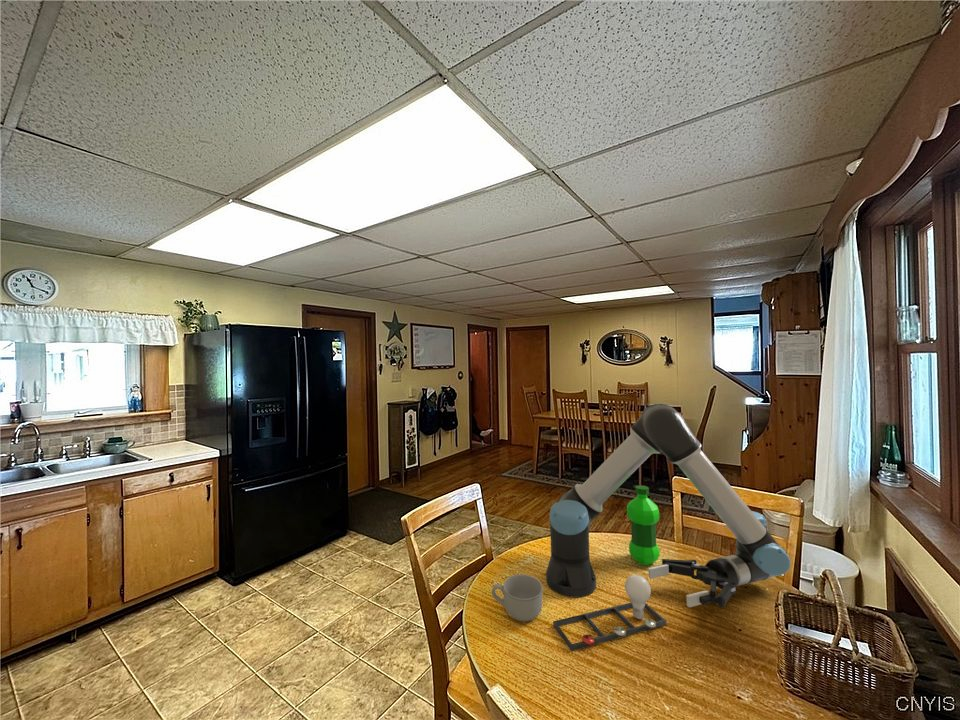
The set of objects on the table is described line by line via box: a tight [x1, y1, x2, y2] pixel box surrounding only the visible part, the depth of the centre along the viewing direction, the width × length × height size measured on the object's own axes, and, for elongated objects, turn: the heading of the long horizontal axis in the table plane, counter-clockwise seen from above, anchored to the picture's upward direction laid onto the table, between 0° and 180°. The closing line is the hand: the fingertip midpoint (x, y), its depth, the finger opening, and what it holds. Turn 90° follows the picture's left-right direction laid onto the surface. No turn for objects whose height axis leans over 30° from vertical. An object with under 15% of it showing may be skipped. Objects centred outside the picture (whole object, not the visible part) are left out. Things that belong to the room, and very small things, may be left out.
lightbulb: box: [624, 574, 652, 620], centre depth 100 cm, size 6×6×11 cm
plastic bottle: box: [626, 485, 661, 566], centre depth 129 cm, size 10×10×25 cm
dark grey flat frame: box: [552, 602, 667, 652], centre depth 97 cm, size 10×28×2 cm, turn 107°
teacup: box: [491, 573, 544, 622], centre depth 103 cm, size 14×11×8 cm
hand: (667, 586), depth 103 cm, fingers open, 13 cm apart
